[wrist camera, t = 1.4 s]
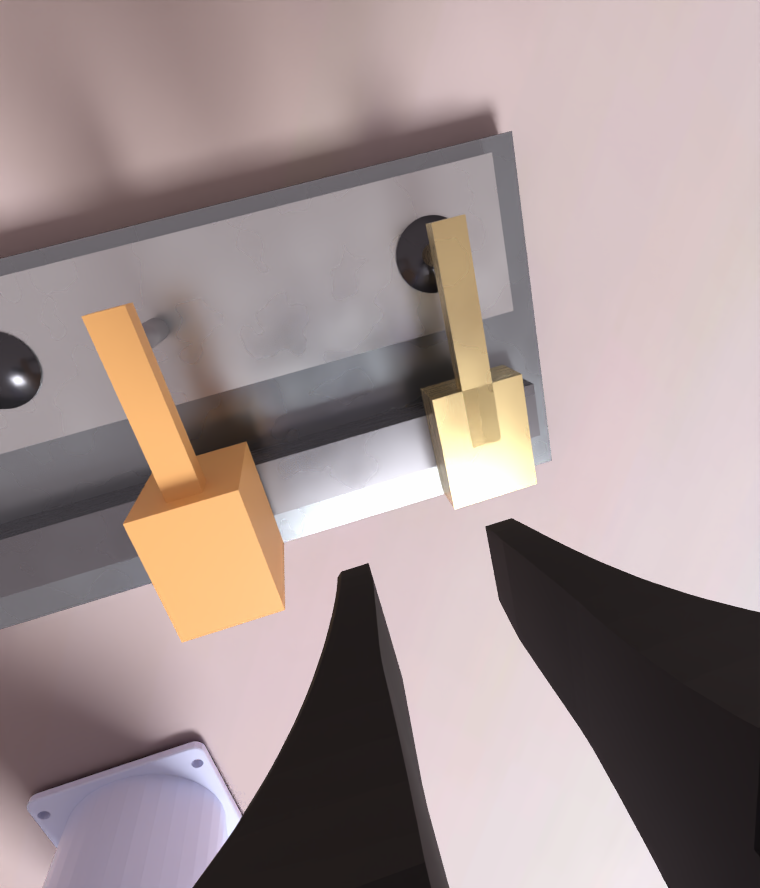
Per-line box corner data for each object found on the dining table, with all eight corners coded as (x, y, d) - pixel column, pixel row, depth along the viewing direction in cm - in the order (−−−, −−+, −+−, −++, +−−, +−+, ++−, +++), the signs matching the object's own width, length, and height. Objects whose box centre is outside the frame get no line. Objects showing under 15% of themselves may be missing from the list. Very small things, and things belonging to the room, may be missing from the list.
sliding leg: (283, 532, 19) (285, 609, 15) (203, 557, 19) (182, 642, 15) (193, 283, 16) (162, 295, 12) (93, 309, 15) (26, 331, 11)
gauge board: (540, 451, 22) (592, 492, 19) (-167, 666, 20) (-268, 761, 16) (499, 137, 18) (557, 107, 14) (-423, 367, 15) (-645, 405, 12)
